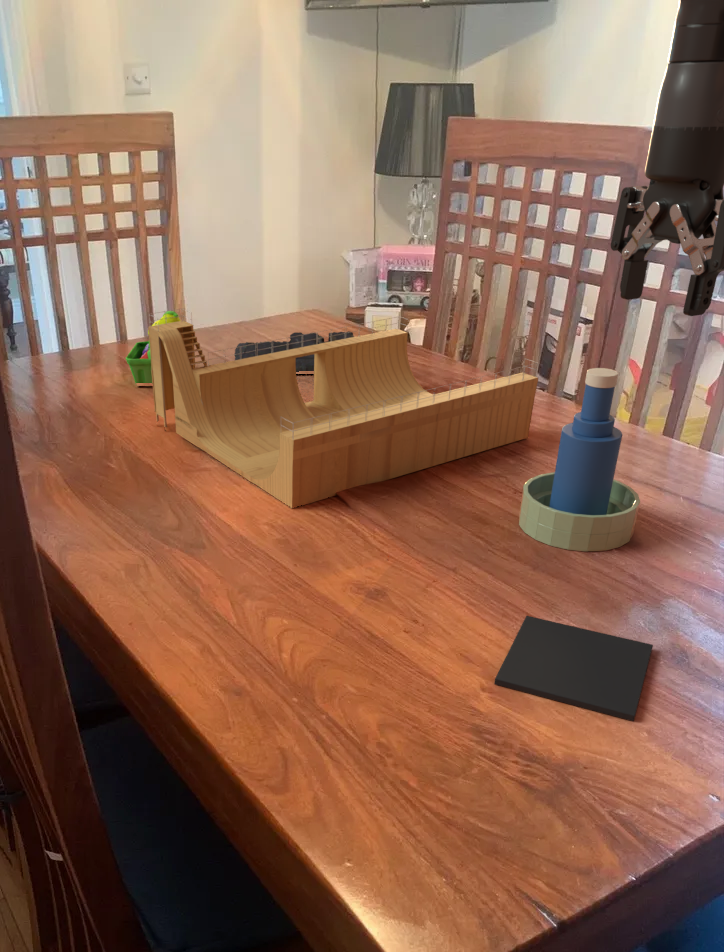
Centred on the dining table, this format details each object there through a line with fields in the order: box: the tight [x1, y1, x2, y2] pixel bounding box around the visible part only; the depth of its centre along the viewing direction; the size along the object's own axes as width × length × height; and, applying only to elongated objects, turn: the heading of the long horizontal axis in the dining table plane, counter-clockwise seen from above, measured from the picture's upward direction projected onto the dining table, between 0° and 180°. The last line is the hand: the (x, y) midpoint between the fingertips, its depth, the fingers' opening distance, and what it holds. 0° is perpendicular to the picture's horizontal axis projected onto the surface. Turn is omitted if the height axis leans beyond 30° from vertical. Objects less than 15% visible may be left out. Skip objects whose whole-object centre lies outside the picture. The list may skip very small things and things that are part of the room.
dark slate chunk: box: [233, 330, 355, 372], centre depth 153 cm, size 15×22×5 cm
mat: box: [493, 615, 654, 722], centre depth 73 cm, size 11×11×1 cm
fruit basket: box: [125, 310, 182, 384], centre depth 144 cm, size 11×9×11 cm
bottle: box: [549, 367, 623, 515], centre depth 91 cm, size 6×6×17 cm
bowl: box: [518, 471, 641, 552], centre depth 95 cm, size 12×12×4 cm
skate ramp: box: [148, 308, 540, 509], centre depth 119 cm, size 40×35×16 cm
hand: (660, 306), depth 86 cm, fingers open, 8 cm apart
